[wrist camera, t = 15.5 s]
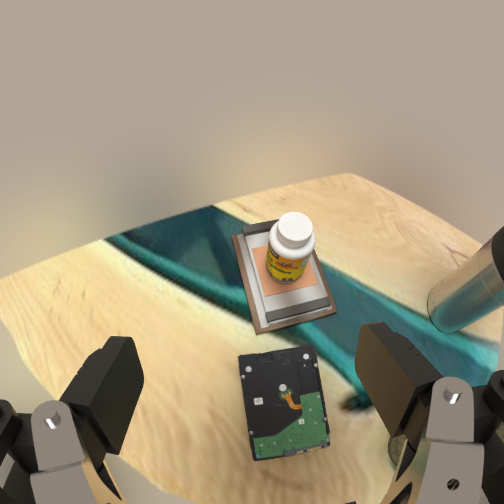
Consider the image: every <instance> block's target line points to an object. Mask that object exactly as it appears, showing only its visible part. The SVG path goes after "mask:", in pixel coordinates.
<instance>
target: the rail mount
mask: <svg viewBox="0 0 504 504" xmlns="http://www.w3.org/2000/svg"><path fill="white" fill-rule="evenodd" d="M278 221H279V219H278V220H272V221H267V222H262V223H257V224H251V225H246V226H242V232H243V233H241V234H236V235H232V241H233V245H234V249H235V253H236V257H237V262H238V266H239V270H240V274H241V278H242V282H243V285H244V289H245V293H246V297H247V301H248V305H249V309H250V313H251V317H252V321H253V325H254V328H255V332H256V335H258V334H262V333H267V332H271V331H275V330H279V329H283V328H286V327H290V326H294V325H298V324H301V323H305V322H309V321H312V320H316V319H319V318H323V317H326V316H329V315H333V314H335V313H336V312H337V308H336V306H335V303H334V300H333V297H332V295H331V292H330V289H329V286H328V284H327V281H326V278H325V276H324V273H323V271H322V268H321V265H320V263H319V260H318V258H317V255H316V253H315V250H314V249H313V251H312V254H311V256H310V259H309V261H308V263H307V266H306V268H305V270H304V273H303V274H302V276H301V277H300V278H299V279H298V280H296V281H294V282H291V283H281V282H278V281H276V280H274V279H273V278H272V277H271V276H270V275H269V274H268V272H267V270H266V256H267V248H268V240H269V234H270V230H271V228H272V227H273V225H274V224H275V223H276V222H278Z"/></svg>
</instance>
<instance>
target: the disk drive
mask: <svg viewBox="0 0 504 504" xmlns="http://www.w3.org/2000/svg"><path fill="white" fill-rule="evenodd" d="M238 359H239V369H240V376H241V382H242V388H243V396H244V403H245V411H246V417H247V423H248V431H249V436H250V445H251V449H252V456H253V460H254V461H260V460H268V459H274V458H280V457H283V456H284V457H288V456H293V455H295V454H300V453H304V452H310V451H314V450H318V449H321V448H326V447H328V446H330V438H329V433H330V431H329V425H328V421H327V414H326V408H325V402H324V396H323V391H322V385H321V379H320V374H319V369H318V361H317V356H316V353H315V348H314V345H307V346H301V347H296V348H290V349H284V350H277V351H271V352H266V353H263V354H261V353H259V354H247V355H240V356H238Z"/></svg>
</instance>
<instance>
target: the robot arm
mask: <svg viewBox="0 0 504 504" xmlns="http://www.w3.org/2000/svg"><path fill="white" fill-rule="evenodd" d="M502 306H504V227H502V228H501V229H500V230H499V231H498V232H497V233H496V234H495V235H494V236H493V237H492V238H491V239H490V240H489V241H488V242H487V243H486V244H485V245H483V246H482V247H481V248H480V249H479V250H478V251H477V252H476V253H475V254H474V255H473V256H472V257H470V258H469V259H468V260H467V261H466V262H465V263H464V264H462V265H461V266H460V267H459V268H458V269H456V270H455V271H454V272H453V273H452V274H450V275H449V276H448V277H447V278H445V279H444V280H443V281H442V282H440V283H439V284H438V285H437V286H435V287H434V288H433V289H432V290H431V292H430V294H429V297H428V312H429V315H430V318H431V320H432V322H433V323H434V325H435V326H436V327H437V328H438V329H439V330H440V331H442V332H445V333H453V332H455V331H457V330H460V329H462V328H464V327H466V326H468V325H470V324H472V323H473V322H475V321H477V320H479V319H481V318H483V317H485V316H486V315H488V314H490V313H492V312H493V311H495V310H497V309H499V308H500V307H502ZM355 370H356V373H357V376H358V377H359V379H360V381H361V383H362V385H363V386H364V388H365V390H366V392H367V393H368V395H369V397H370V399H371V401H372V402H373V404H374V406H375V408H376V410H377V411H378V413H379V415H380V417H381V419H382V421H383V422H384V424H385V426H386V428H387V430H388V432H389V434H390V435H391V437H392V438H395V437H397V436H400V435H403V434H405V436H406V438H407V439H406V441H405V443H404V445H403V449H402V452H401V456H400V459H399V462H398V465H397V468H396V471H395V474H394V477H393V480H392V482H391V485H390V487H389V489H388V491H387V493H386V495H385V496H384V498H383V500H382V501H381V503H380V504H479V499H480V492H481V487H482V489H483V491H484V493H485V495H486V497H487V498H488V501H489V503H490V504H504V443H503V442H502V440H501V439H500V437H499V436H498V435H497V433H496V430H497V429H498V428H499V426H500V425H501V423H502V422H503V423H504V370H499V371H496V372H494V373H493V374H492V376H491V378H490V380H489V382H488V384H487V385H484V386H477V387H470V385H469V384H468V383H467V382H465V381H464V380H462V379H459V378H456V377H444V378H443V376H442V375H441V374H440V373H439V372H438V371H437V370H436V369H435V367H434V366H433V365H432V364H431V363H430V362H429V361H428V360H427V359H426V358H425V357H424V355H421V352H420V351H419V350H418V349H417V348H415V346H414V345H413V344H412V343H411V342H410V340H409V339H408V338H406V337H404V336H402V335H400V334H399V333H397V332H395V333H394V332H393V331H392V330H391V329H390V328H389V327H388V326H387V325H386V324H385V323H384V322H382V321H381V322H375V323H369V324H363V325H362V327H361V329H360V335H359V341H358V346H357V352H356V357H355ZM143 384H144V375H143V370H142V367H141V363H140V360H139V357H138V354H137V350H136V347H135V343H134V341H133V339H132V338H131V337H122V336H111V337H110V338H109V339H108V340H107V342H106V343H105V345H104V346H103V348H102V349H98V350H96V351H95V352H94V353H92V354H91V355H89V356H88V358H87V359H86V361H85V362H84V364H83V365H82V367H81V368H80V369H79V371H78V372H77V375H75V377H74V378H73V380H72V381H71V383H70V384H69V386H68V387H67V389H66V390H65V392H64V393H63V395H62V396H61V398H60V400H59V401H48V402H45V403H43V404H41V405H39V406H38V407H37V408H36V409H35V410H34V412H33V413H32V414H23V413H16V412H15V410H14V409H13V407H12V405H11V404H10V403H9V402H8V401H6V400H0V466H1V464H2V462H3V459H4V458H5V456H6V454H7V453H8V454H9V455H10V456H11V458H12V459H13V460H14V461H15V462H14V464H13V466H12V468H11V471H10V473H9V475H8V477H7V480H6V482H5V485H4V487H3V489H2V488H1V487H0V504H127V502H126V500H125V499H124V497H123V495H122V493H121V491H120V490H119V488H118V486H117V484H116V482H115V480H114V478H113V476H112V474H111V472H110V470H109V468H108V466H107V464H106V462H105V460H104V458H105V455H106V453H111V454H115V455H119V453H120V450H121V447H122V444H123V441H124V438H125V435H126V432H127V430H128V427H129V424H130V421H131V418H132V415H133V413H134V410H135V407H136V404H137V402H138V399H139V396H140V394H141V391H142V388H143ZM346 504H356V501H354V502H350V503H346Z"/></svg>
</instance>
